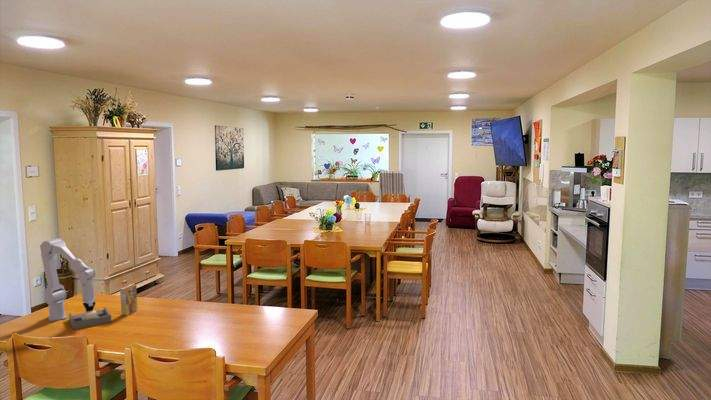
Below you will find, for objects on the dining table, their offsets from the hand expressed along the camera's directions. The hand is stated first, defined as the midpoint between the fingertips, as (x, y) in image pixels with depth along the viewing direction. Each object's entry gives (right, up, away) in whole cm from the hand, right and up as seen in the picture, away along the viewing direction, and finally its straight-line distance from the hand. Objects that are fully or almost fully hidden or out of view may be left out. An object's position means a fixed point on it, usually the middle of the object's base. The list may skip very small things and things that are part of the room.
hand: (90, 315), depth 265 cm
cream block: (+2, -1, -3) cm, 4 cm away
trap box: (-1, -3, +1) cm, 3 cm away
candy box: (+16, -2, +13) cm, 20 cm away
